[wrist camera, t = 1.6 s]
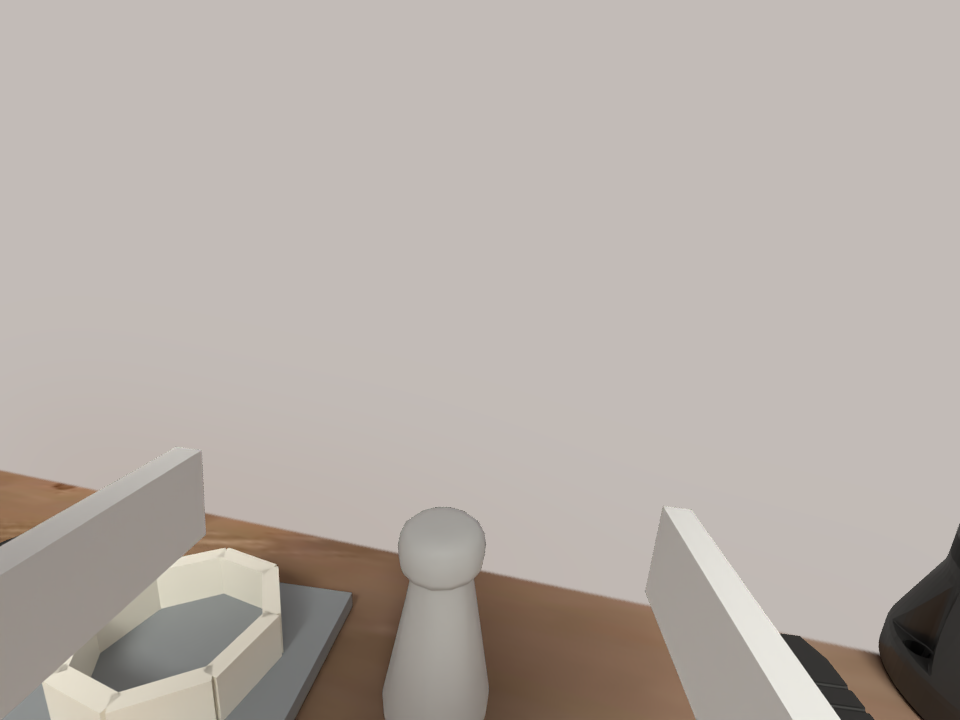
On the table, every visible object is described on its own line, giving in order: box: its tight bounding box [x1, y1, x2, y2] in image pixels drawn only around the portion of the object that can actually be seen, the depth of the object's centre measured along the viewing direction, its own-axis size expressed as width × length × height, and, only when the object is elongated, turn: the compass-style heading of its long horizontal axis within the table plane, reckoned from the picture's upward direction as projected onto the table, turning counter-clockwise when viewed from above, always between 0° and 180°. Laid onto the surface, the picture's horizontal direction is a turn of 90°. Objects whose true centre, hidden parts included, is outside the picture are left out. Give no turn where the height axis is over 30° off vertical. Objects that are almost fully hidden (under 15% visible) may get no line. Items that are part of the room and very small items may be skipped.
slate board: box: [2, 583, 352, 720], centre depth 28 cm, size 16×13×1 cm
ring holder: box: [42, 548, 284, 720], centre depth 27 cm, size 11×11×3 cm
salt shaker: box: [382, 507, 489, 720], centre depth 24 cm, size 6×6×13 cm
